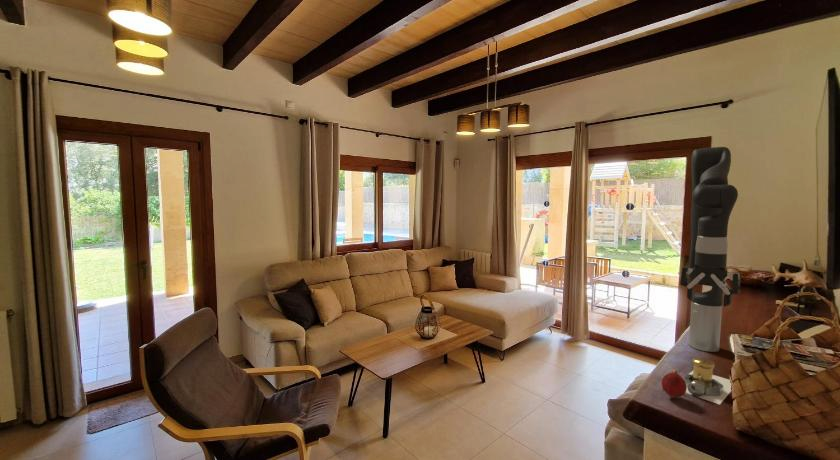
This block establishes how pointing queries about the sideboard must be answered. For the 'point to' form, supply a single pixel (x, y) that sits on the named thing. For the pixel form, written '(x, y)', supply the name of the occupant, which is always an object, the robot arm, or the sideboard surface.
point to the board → (716, 399)
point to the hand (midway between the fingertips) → (708, 303)
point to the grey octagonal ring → (703, 387)
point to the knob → (703, 371)
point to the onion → (674, 384)
